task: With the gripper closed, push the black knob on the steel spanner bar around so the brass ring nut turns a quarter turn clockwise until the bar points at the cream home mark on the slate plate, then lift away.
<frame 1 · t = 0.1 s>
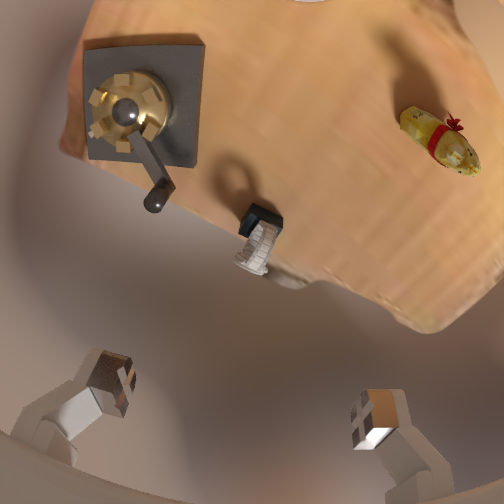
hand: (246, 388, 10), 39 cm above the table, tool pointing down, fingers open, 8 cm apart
ring nut: (135, 139, 38), point 7 cm above the table, hinge at 0.0°
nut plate: (141, 103, 41), on the table
watch: (261, 220, 52), on the table
chocolate bunny: (429, 125, 39), on the table
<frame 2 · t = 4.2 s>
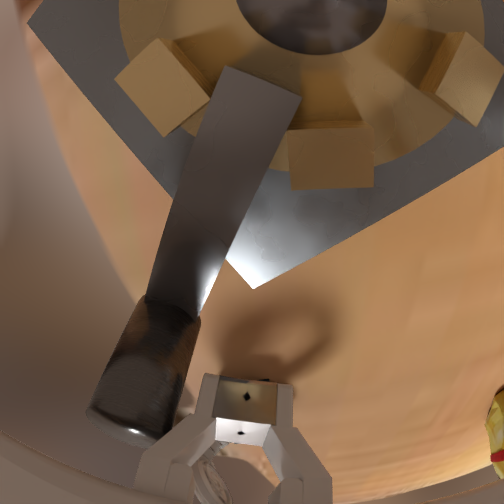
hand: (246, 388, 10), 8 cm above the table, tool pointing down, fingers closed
ring nut: (248, 113, 7), point 7 cm above the table, hinge at 0.0°, touching gripper
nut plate: (300, 18, 11), on the table
watch: (251, 397, 25), on the table
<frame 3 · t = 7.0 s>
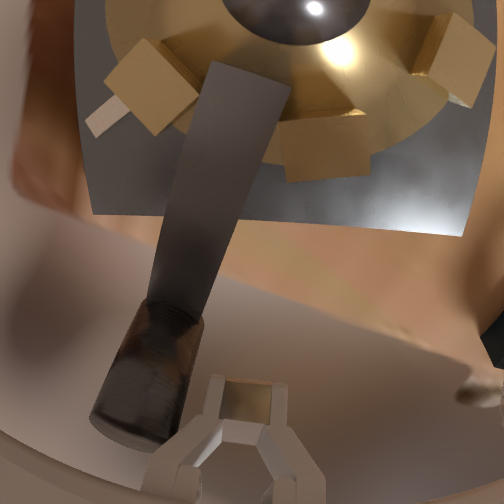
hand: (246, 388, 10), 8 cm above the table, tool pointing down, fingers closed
ring nut: (238, 107, 7), point 7 cm above the table, hinge at -49.3°, touching gripper
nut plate: (289, 13, 10), on the table
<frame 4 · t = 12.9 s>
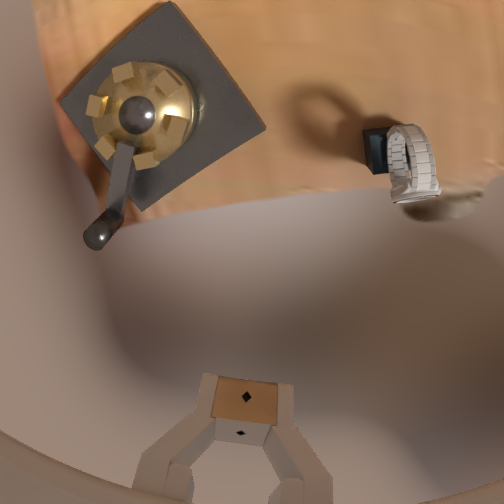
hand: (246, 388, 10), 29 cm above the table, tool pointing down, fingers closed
ring nut: (123, 153, 29), point 7 cm above the table, hinge at -84.2°
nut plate: (156, 107, 33), on the table
watch: (387, 146, 33), on the table
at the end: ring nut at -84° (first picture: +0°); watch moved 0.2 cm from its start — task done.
